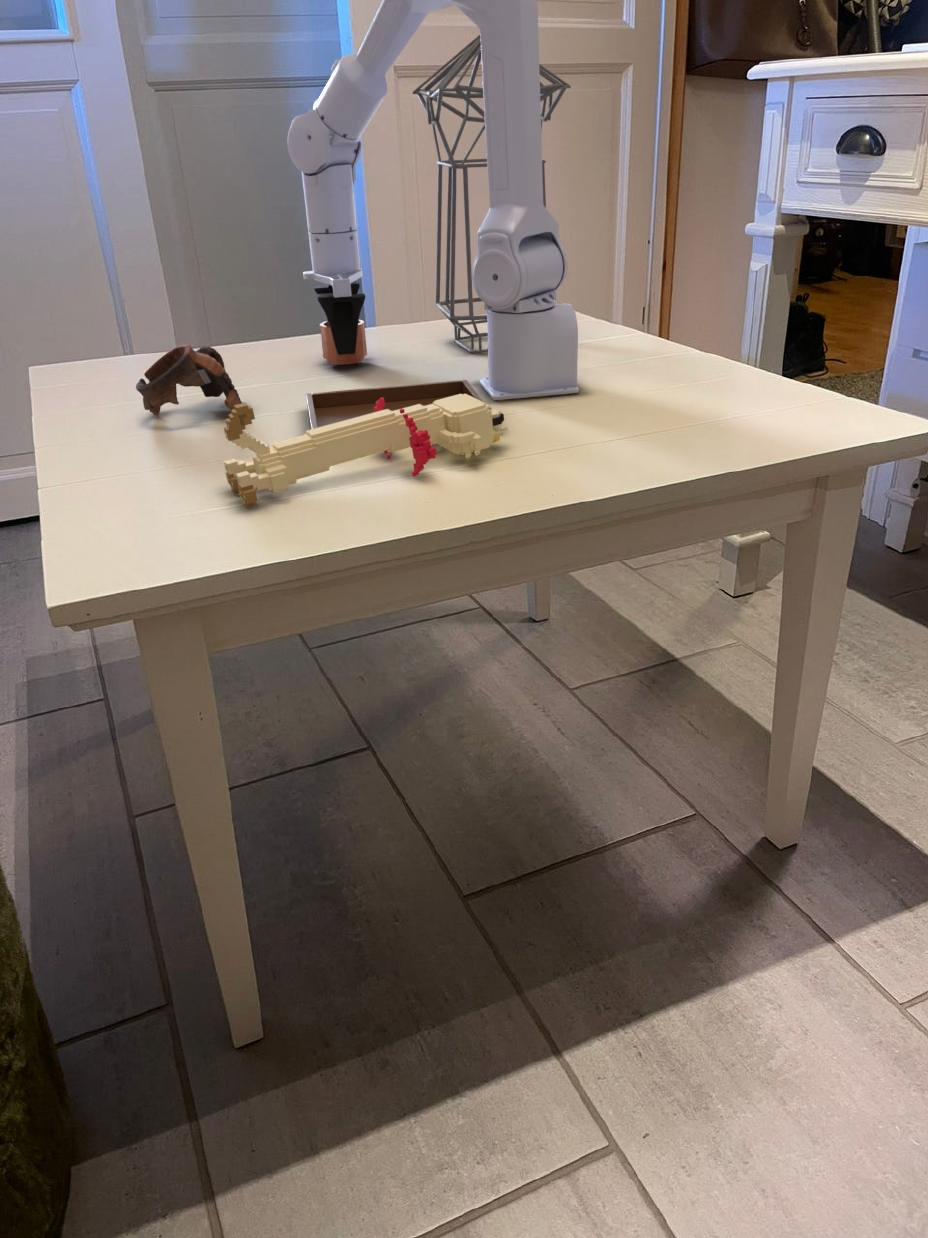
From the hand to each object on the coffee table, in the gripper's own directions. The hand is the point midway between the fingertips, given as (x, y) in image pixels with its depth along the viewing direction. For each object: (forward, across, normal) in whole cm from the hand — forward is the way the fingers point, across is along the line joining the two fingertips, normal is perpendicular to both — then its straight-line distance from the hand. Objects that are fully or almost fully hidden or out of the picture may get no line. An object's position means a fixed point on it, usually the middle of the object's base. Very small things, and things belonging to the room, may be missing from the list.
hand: (344, 348), depth 117 cm
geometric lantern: (+2, -4, +20) cm, 21 cm away
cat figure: (+2, +41, 0) cm, 41 cm away
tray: (+2, +27, +3) cm, 27 cm away
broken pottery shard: (+2, +17, -17) cm, 24 cm away
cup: (+1, 0, 0) cm, 1 cm away
